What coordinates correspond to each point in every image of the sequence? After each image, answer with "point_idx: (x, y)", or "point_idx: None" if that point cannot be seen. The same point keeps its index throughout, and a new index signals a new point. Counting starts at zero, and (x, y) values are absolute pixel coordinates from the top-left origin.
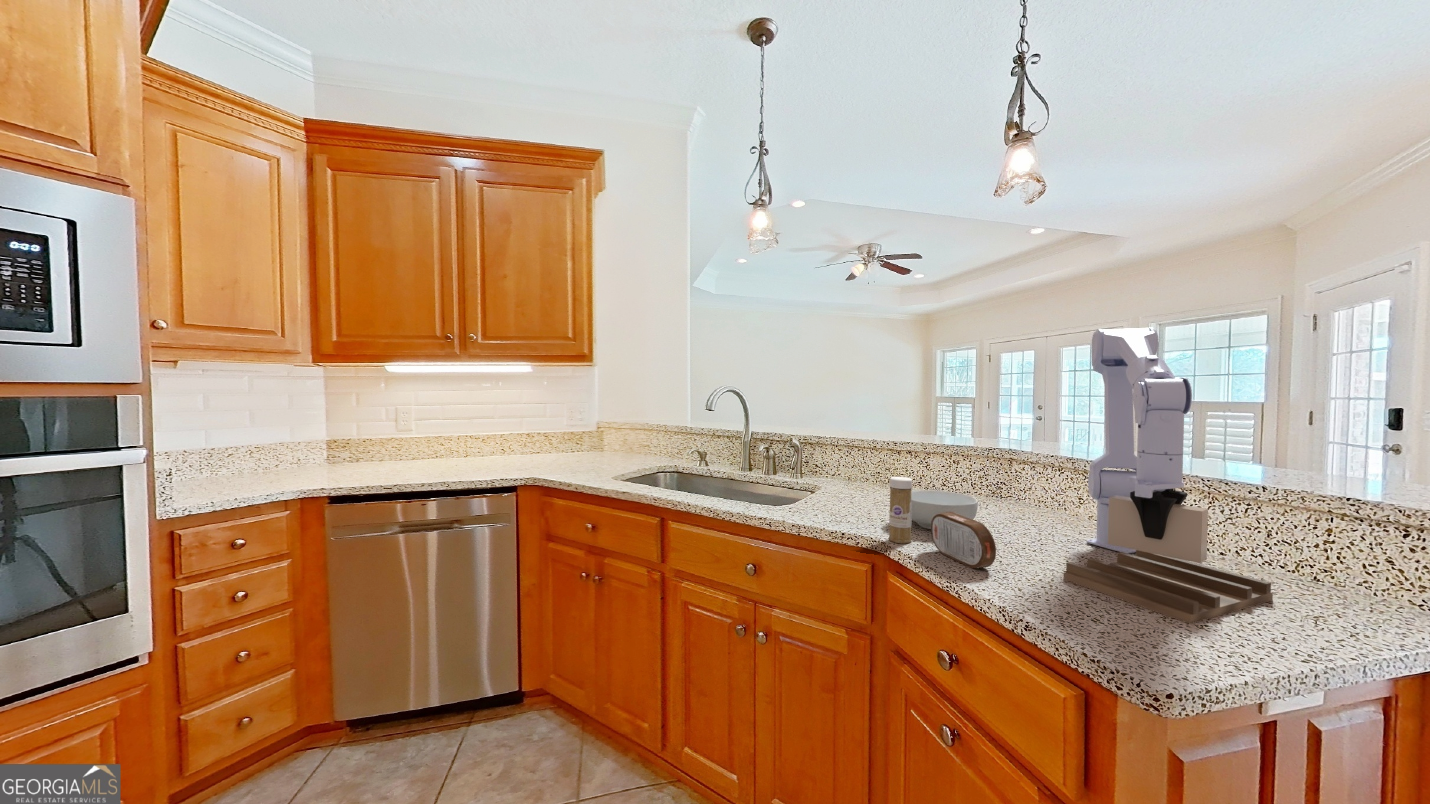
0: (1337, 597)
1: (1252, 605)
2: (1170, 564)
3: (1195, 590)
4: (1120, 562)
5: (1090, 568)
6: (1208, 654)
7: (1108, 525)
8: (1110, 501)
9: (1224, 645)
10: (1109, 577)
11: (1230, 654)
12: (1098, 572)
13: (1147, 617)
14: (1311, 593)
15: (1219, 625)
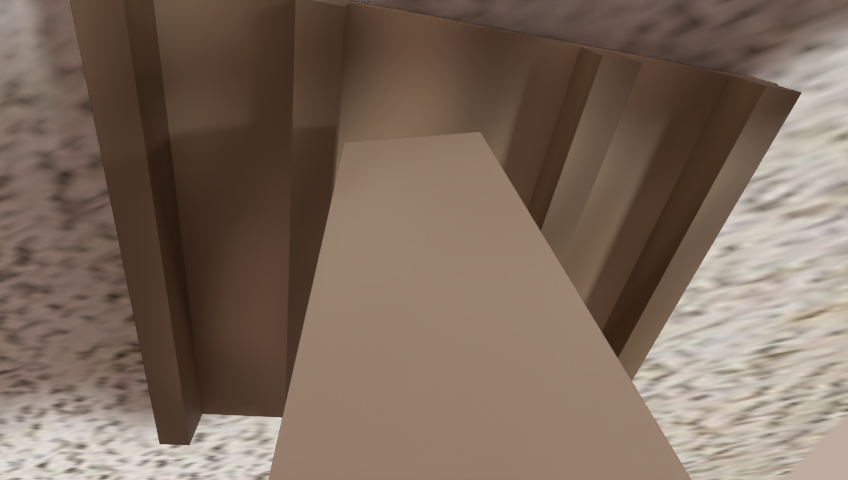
0: (715, 452)
1: None
2: (664, 228)
3: None
4: (576, 64)
5: (127, 109)
6: (26, 456)
7: (330, 209)
8: (286, 469)
9: (120, 453)
10: (117, 217)
11: (83, 469)
12: (112, 164)
13: (85, 329)
14: (712, 428)
15: (242, 416)
